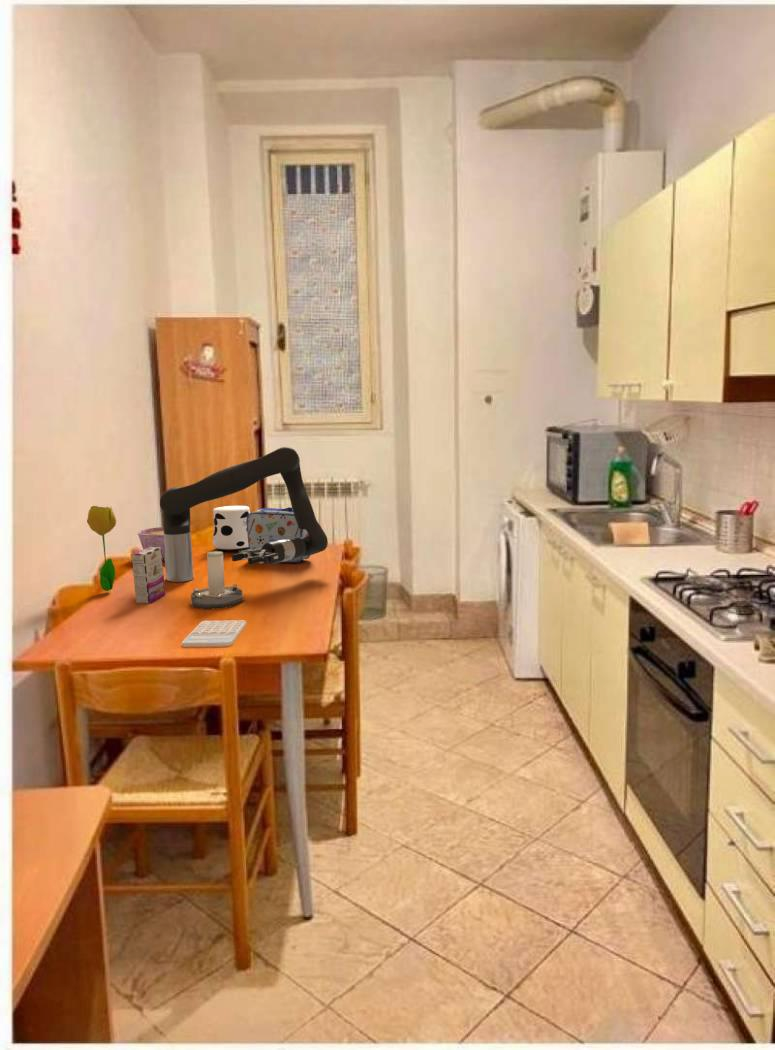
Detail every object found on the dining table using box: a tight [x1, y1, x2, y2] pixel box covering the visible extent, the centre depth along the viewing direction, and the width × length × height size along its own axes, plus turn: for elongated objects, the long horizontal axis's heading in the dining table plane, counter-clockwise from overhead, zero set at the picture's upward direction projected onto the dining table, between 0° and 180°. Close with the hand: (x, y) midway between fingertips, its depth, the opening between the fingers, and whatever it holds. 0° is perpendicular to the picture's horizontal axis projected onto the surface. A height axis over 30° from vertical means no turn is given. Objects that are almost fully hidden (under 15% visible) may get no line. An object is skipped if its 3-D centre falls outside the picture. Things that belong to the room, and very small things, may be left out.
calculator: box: [181, 619, 247, 648], centre depth 210 cm, size 13×20×2 cm, turn 178°
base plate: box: [190, 584, 243, 610], centre depth 243 cm, size 16×16×4 cm
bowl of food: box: [137, 526, 165, 559], centre depth 313 cm, size 20×20×12 cm
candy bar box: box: [130, 547, 166, 605], centre depth 248 cm, size 11×5×16 cm, turn 168°
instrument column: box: [206, 550, 226, 594], centre depth 242 cm, size 5×5×13 cm
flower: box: [86, 505, 117, 592], centre depth 257 cm, size 9×8×30 cm
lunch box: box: [246, 506, 311, 564], centre depth 302 cm, size 28×10×22 cm, turn 67°
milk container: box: [212, 505, 251, 552], centre depth 328 cm, size 17×17×18 cm
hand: (240, 559), depth 249 cm, fingers open, 8 cm apart
